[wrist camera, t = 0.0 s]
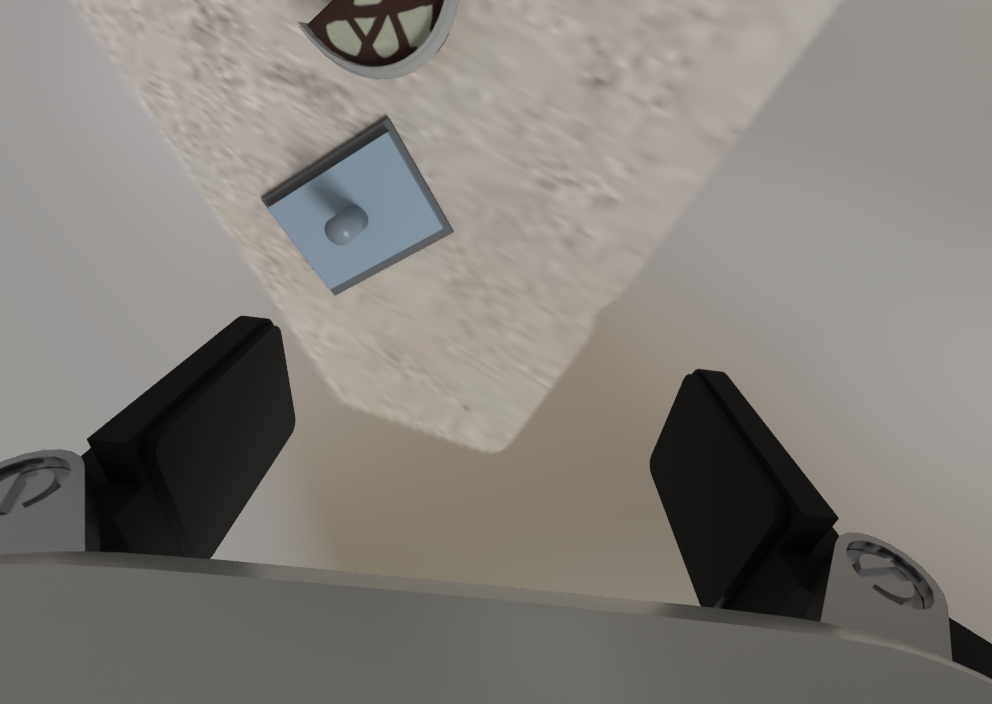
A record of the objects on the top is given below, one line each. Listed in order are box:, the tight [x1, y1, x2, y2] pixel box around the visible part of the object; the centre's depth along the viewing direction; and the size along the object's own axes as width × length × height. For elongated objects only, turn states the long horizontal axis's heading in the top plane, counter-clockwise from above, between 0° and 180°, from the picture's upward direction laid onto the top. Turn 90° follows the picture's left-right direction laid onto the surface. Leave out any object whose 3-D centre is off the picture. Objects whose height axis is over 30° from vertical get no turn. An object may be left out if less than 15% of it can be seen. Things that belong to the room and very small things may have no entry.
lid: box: [267, 132, 444, 290], centre depth 42 cm, size 10×15×6 cm, turn 118°
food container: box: [298, 0, 459, 79], centre depth 32 cm, size 12×6×10 cm, turn 122°
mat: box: [262, 118, 454, 295], centre depth 45 cm, size 12×16×1 cm
